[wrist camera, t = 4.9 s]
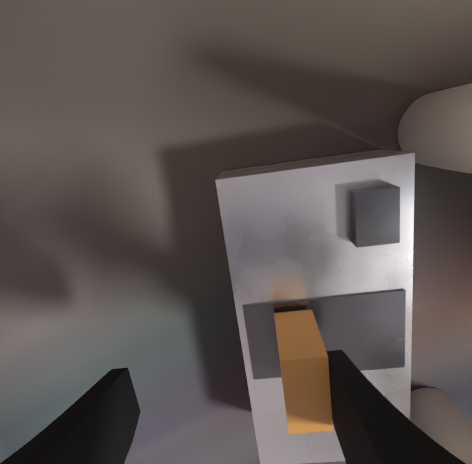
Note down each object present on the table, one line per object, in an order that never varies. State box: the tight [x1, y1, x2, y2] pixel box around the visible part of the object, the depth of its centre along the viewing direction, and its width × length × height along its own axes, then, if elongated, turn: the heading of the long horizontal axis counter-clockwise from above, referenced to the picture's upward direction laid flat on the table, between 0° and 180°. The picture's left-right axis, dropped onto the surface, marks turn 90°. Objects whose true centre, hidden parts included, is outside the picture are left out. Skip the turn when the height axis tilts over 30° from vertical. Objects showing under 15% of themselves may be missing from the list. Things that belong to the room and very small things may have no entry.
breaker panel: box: [215, 149, 415, 464], centre depth 14 cm, size 7×14×4 cm, turn 8°
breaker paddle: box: [274, 309, 333, 434], centre depth 12 cm, size 2×3×3 cm, turn 8°
